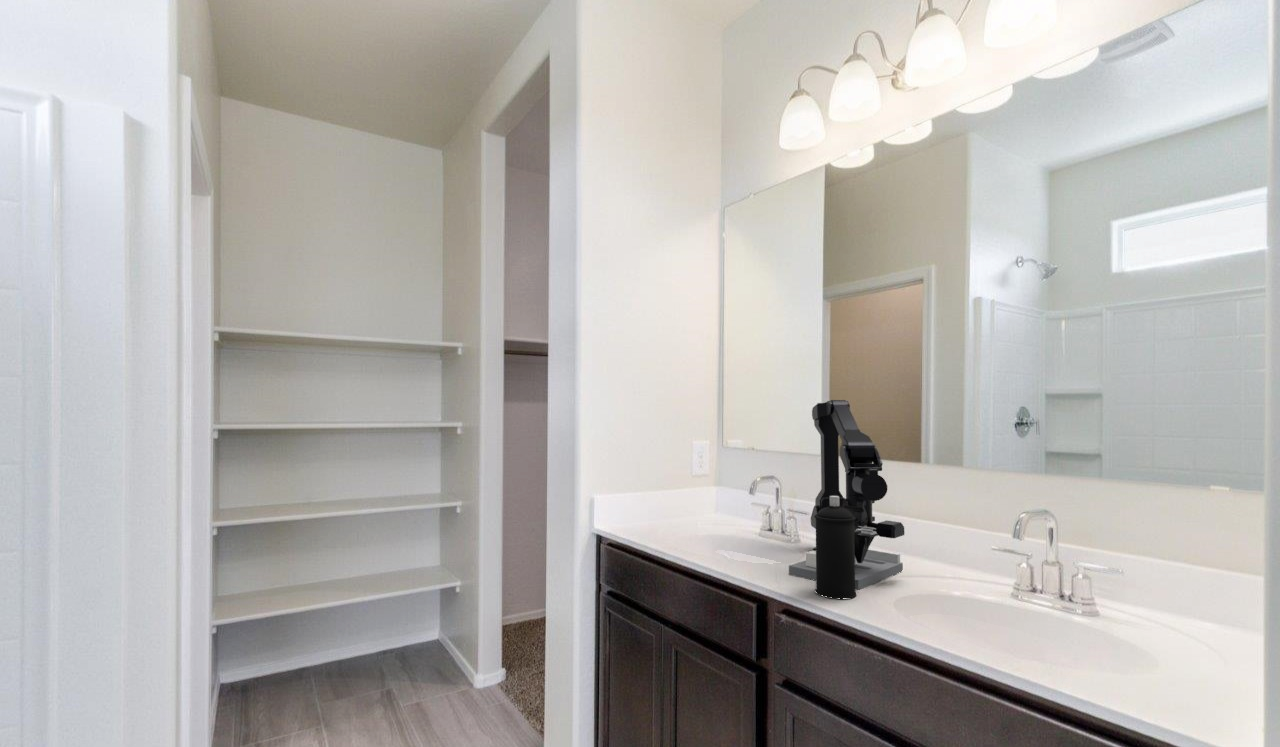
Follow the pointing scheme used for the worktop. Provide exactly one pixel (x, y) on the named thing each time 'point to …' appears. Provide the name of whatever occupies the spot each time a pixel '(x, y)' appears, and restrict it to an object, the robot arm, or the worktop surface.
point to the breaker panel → (861, 568)
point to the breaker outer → (811, 559)
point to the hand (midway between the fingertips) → (859, 562)
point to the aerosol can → (835, 551)
